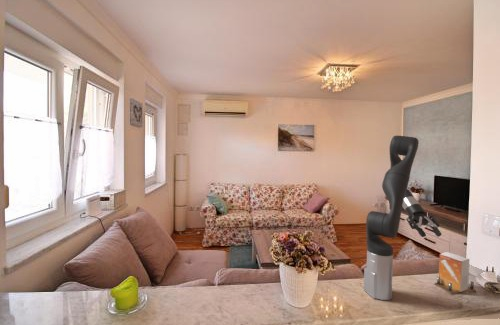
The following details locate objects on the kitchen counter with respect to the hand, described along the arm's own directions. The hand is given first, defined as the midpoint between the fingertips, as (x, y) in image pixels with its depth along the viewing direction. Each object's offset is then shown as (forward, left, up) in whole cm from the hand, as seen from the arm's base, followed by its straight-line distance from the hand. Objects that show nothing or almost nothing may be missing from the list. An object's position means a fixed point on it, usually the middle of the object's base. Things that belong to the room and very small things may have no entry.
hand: (432, 236), depth 109 cm
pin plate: (0, -11, -19) cm, 22 cm away
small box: (0, -10, -18) cm, 21 cm away
